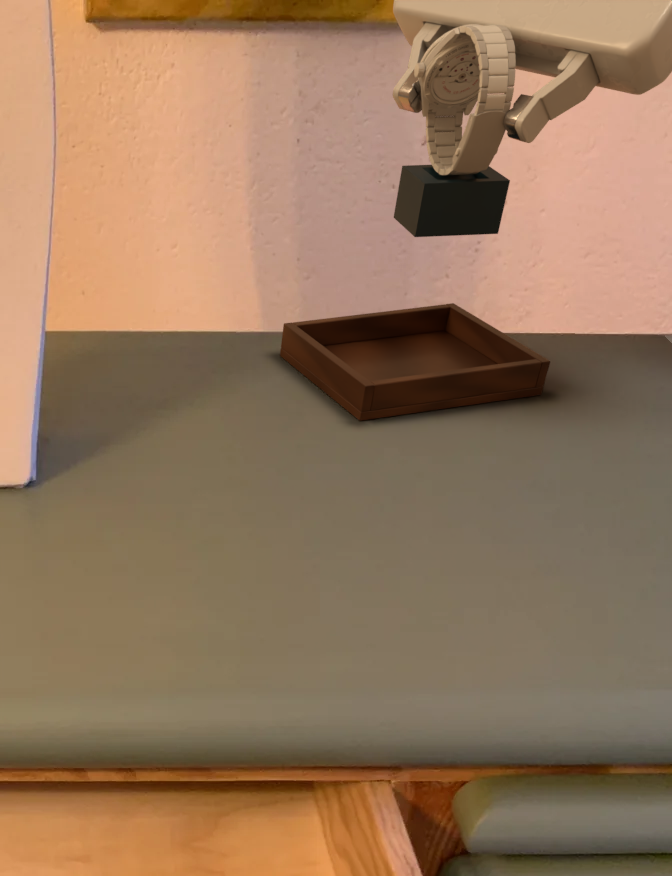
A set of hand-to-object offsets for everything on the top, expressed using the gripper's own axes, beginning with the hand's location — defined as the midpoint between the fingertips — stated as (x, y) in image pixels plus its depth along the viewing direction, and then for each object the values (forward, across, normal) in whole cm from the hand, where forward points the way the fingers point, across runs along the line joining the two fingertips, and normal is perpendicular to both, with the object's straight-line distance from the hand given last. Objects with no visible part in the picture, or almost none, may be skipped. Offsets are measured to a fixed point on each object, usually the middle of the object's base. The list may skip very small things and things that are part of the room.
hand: (456, 118), depth 71 cm
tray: (+11, +2, -13) cm, 17 cm away
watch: (+4, 0, -5) cm, 6 cm away
